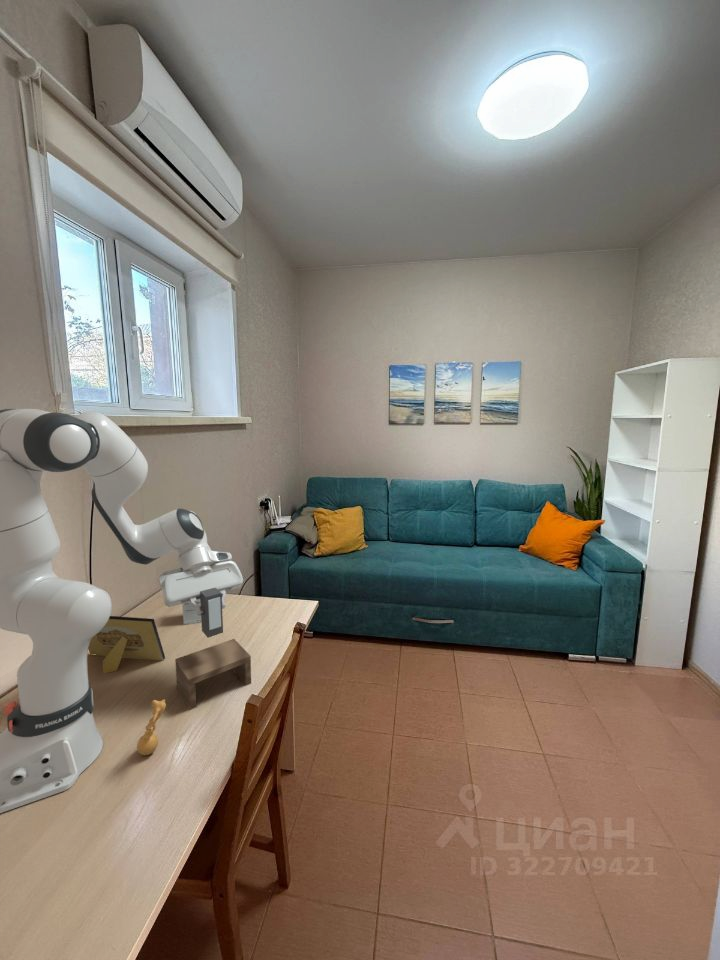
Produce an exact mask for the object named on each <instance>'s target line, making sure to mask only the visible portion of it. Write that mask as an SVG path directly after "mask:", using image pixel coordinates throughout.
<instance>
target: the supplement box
mask: <svg viewBox="0 0 720 960" xmlns="http://www.w3.org/2000/svg"><path fill="white" fill-rule="evenodd" d="M196 603H197V604H198V605H199V606H201V601H200V599H197V601H196ZM181 605H182V621H183V623H182V624H183V625H190V624H198V623H199V624H200V623H202V622H201V615H200V616H198V615H197V612H196V610H195V609H193V608H192V607H191V606H190V604H189V602H186V603H183V604H181Z"/></svg>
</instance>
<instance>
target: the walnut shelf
mask: <svg viewBox="0 0 720 960" xmlns="http://www.w3.org/2000/svg"><path fill="white" fill-rule="evenodd" d="M251 658H252V657H251V655H250V654H249V652H248V651H247V650H246V649H245V648H244V647H243V646H242V645H241V644H240V643H239V642H238V641H237V640H236V639H235V638H232V639H229V640H227V641H223V642H220V643H217V644H215V645H211V646H209V647H205V648H203V649H201V650H198V651H195V652H191V653H189V654H186V655H184V656H181V657H177V658H175V677H176V678H175V679H176V688H177V691H178V692H179V694H180V696H181V697H182V699H183V700H184V702H185V703H186V705H187V708H188V710H193V709H195V708H197V696H196V695H197V693H196V692H197V691H196V683H198V682H199V683H200V682H201V681H203V680H204V681H205V680H206V679H208V678H211V677H214V676H217V675H219V674H221V673H224V672H227V671H229V670H231V669H232V671H233V672H234V673H235V674H236V675H237V677H238V678H239V679H240V680H241V681H242V682H243V684H244V686H249V685H250V684H252V665H251V664H252V662H251V661H252V659H251Z"/></svg>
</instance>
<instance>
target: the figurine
mask: <svg viewBox="0 0 720 960" xmlns="http://www.w3.org/2000/svg"><path fill="white" fill-rule="evenodd" d="M150 705H151V706H152V710H151V712H152V717H151V718H150V719H149V720H148V724H147V725H146V726H145V730H146V731H144V732H143V733H144V734H143V735H142V736H141V737H139V739H138V741H137V744H136V749H137V752H138V754H140V755H141V756H149V755H150V754H153V753H154V752H155V750H156V749H157V747H158V744H159V737H158V735H157V734H155V733H154V732H155V730H156V729H157V721H158V720H159V719H160V718H161V716H162V714H163V713H164V711H165V710H166V707H167V704H166V699H162V700H156V699H153V700H152V701H151V704H150Z"/></svg>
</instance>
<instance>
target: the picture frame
mask: <svg viewBox="0 0 720 960" xmlns="http://www.w3.org/2000/svg"><path fill="white" fill-rule="evenodd" d="M163 649H164V648H163V646H162V642H161V639H160V636H159V632H158V628H157V625H156V622H155V618H148V617H147V618H146V617H145V618H144V617H134V616H133V617H130V616H118V615H116V616H115V615H110V617H109V620H108V622H107V623H106V625H105V626H104V627H103V628H102V630H101V631H100V632H99V633H97V634H96V635H95V636H93V637H92V639H91V641H90V644H89V647H88V651H89V652H88V653H90V654H89V655H91V654H96V655H95V656H98V655H105V656H104V657H105V658H104V659H103V660H102V672H103V673H102V674H107V673H111V672H115V671H118V669H119V666H120V663H121V661H122V658H127V659H136V660H137V659H140V660H150V661H164V660H165V659H166V655H165V652H164V650H163Z"/></svg>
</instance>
